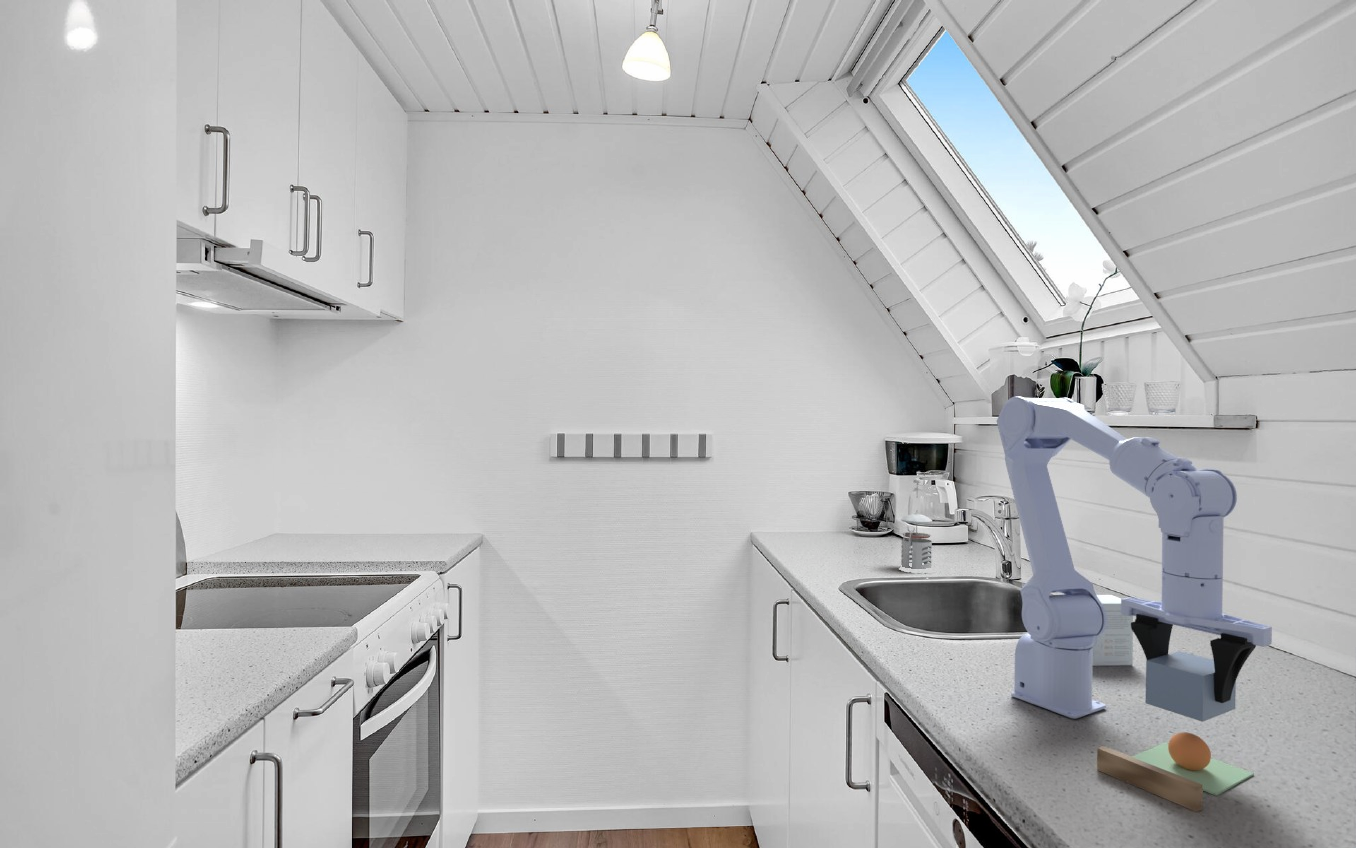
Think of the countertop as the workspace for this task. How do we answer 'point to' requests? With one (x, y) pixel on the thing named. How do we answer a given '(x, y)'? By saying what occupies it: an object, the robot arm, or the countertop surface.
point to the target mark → (1211, 777)
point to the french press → (916, 542)
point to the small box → (1114, 636)
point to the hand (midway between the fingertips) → (1190, 691)
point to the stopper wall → (1150, 778)
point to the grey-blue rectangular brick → (1185, 686)
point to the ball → (1189, 751)
